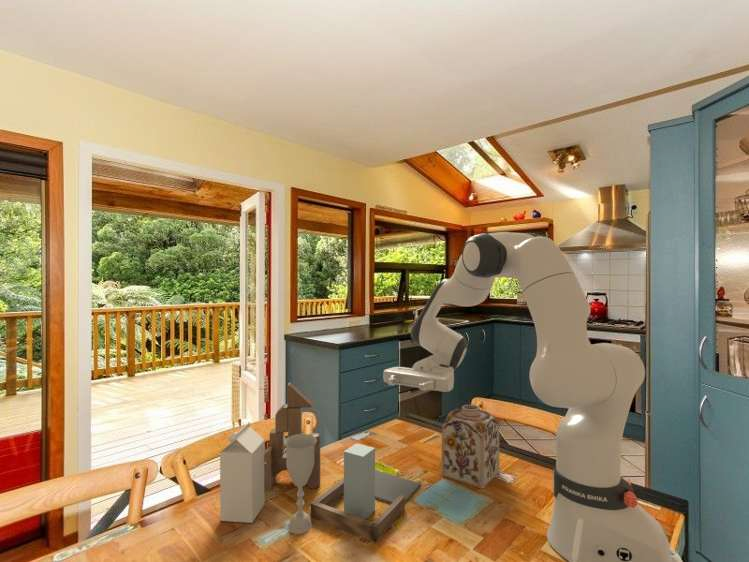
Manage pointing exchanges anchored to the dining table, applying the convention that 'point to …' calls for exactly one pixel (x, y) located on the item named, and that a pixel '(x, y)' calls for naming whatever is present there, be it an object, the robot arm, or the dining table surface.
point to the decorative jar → (470, 446)
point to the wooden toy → (289, 422)
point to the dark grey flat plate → (393, 487)
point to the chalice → (300, 475)
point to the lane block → (359, 480)
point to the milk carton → (242, 476)
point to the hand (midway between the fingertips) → (405, 385)
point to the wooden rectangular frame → (351, 522)
